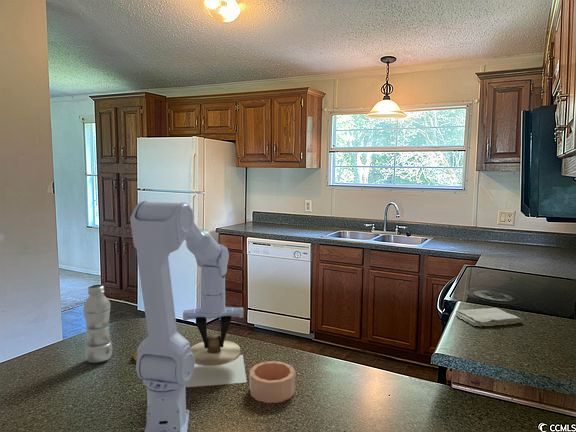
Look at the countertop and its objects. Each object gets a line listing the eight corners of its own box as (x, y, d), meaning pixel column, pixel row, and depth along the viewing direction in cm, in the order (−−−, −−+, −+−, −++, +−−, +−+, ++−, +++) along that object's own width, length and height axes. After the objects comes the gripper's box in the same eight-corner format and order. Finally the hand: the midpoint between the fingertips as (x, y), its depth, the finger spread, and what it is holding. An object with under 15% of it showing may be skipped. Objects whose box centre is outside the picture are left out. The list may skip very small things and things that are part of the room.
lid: (241, 363, 99) (241, 346, 99) (185, 367, 97) (184, 349, 97) (239, 341, 112) (238, 326, 112) (188, 344, 110) (188, 328, 110)
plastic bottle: (79, 362, 110) (75, 287, 107) (101, 353, 116) (98, 281, 113) (96, 368, 107) (92, 291, 104) (118, 357, 113) (115, 284, 110)
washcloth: (452, 317, 146) (453, 308, 146) (496, 313, 151) (497, 305, 150) (475, 329, 135) (476, 320, 135) (522, 325, 139) (523, 316, 139)
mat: (246, 384, 99) (246, 382, 99) (181, 389, 97) (181, 387, 97) (242, 356, 114) (242, 354, 114) (185, 360, 111) (185, 358, 111)
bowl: (298, 402, 92) (298, 380, 91) (252, 406, 90) (251, 384, 89) (290, 379, 101) (290, 359, 101) (248, 383, 100) (248, 362, 99)
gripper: (242, 287, 108) (242, 338, 110) (184, 289, 106) (185, 341, 107) (243, 294, 101) (244, 349, 103) (181, 297, 99) (182, 353, 100)
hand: (214, 346), depth 104 cm, fingers closed on lid, 3 cm apart
